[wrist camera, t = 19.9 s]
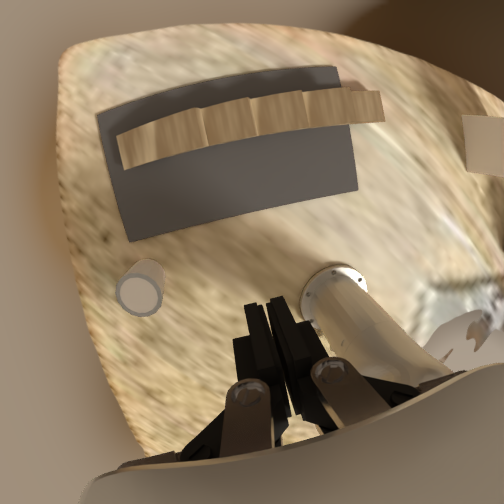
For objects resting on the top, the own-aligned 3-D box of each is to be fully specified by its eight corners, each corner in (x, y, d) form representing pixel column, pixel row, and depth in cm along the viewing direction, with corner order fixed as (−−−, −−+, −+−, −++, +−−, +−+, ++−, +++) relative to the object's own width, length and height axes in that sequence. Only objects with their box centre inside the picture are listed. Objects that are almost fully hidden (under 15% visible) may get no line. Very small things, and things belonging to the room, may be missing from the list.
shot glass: (178, 278, 44) (172, 299, 37) (148, 302, 44) (139, 325, 38) (148, 245, 41) (137, 263, 35) (119, 272, 42) (105, 292, 36)
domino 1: (124, 135, 35) (200, 108, 32) (132, 168, 37) (208, 145, 34) (116, 135, 33) (194, 107, 30) (124, 170, 35) (203, 146, 32)
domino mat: (356, 189, 43) (358, 190, 42) (130, 241, 41) (129, 242, 40) (334, 67, 36) (336, 66, 35) (98, 115, 34) (97, 115, 33)
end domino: (303, 96, 36) (372, 92, 37) (310, 128, 38) (378, 122, 39) (307, 93, 34) (379, 90, 35) (314, 127, 36) (385, 121, 37)
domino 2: (166, 122, 35) (250, 99, 32) (173, 155, 37) (258, 135, 34) (159, 121, 33) (247, 97, 31) (167, 156, 35) (255, 135, 32)
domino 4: (263, 101, 36) (347, 89, 33) (270, 134, 38) (354, 122, 35) (261, 99, 34) (349, 86, 31) (268, 134, 36) (357, 122, 33)
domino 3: (214, 110, 36) (301, 92, 33) (221, 143, 37) (309, 127, 35) (210, 108, 34) (301, 89, 31) (217, 144, 36) (309, 127, 33)
